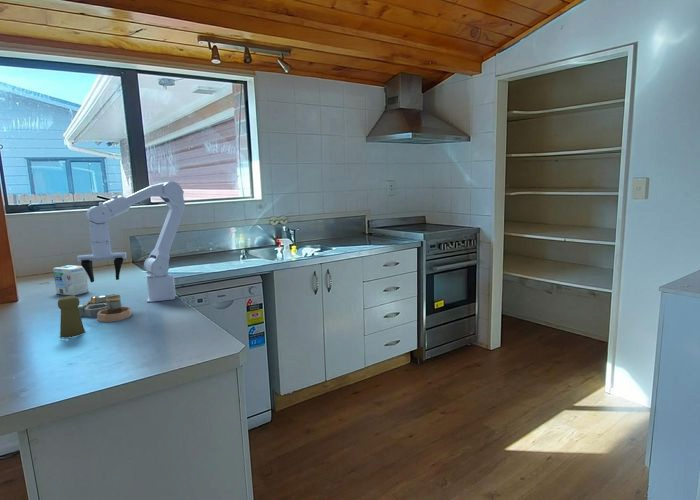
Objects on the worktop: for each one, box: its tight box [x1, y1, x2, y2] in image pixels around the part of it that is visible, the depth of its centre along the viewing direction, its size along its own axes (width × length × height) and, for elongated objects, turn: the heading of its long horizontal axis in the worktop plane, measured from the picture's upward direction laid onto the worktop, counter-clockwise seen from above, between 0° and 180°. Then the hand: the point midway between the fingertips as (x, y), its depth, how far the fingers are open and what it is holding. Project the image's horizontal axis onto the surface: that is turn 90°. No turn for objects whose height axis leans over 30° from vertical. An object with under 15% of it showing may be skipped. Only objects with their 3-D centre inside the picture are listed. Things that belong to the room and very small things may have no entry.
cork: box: [57, 295, 86, 339], centre depth 122 cm, size 6×6×11 cm
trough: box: [83, 300, 107, 307], centre depth 150 cm, size 10×6×2 cm, turn 110°
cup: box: [97, 305, 133, 323], centre depth 137 cm, size 9×9×2 cm
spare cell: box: [89, 294, 111, 304], centre depth 150 cm, size 7×4×4 cm, turn 110°
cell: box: [106, 293, 122, 314], centre depth 137 cm, size 4×4×7 cm
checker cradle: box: [78, 303, 107, 318], centre depth 141 cm, size 9×7×3 cm
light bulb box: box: [52, 264, 90, 296], centre depth 172 cm, size 11×7×11 cm, turn 68°
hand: (105, 280), depth 147 cm, fingers open, 7 cm apart
